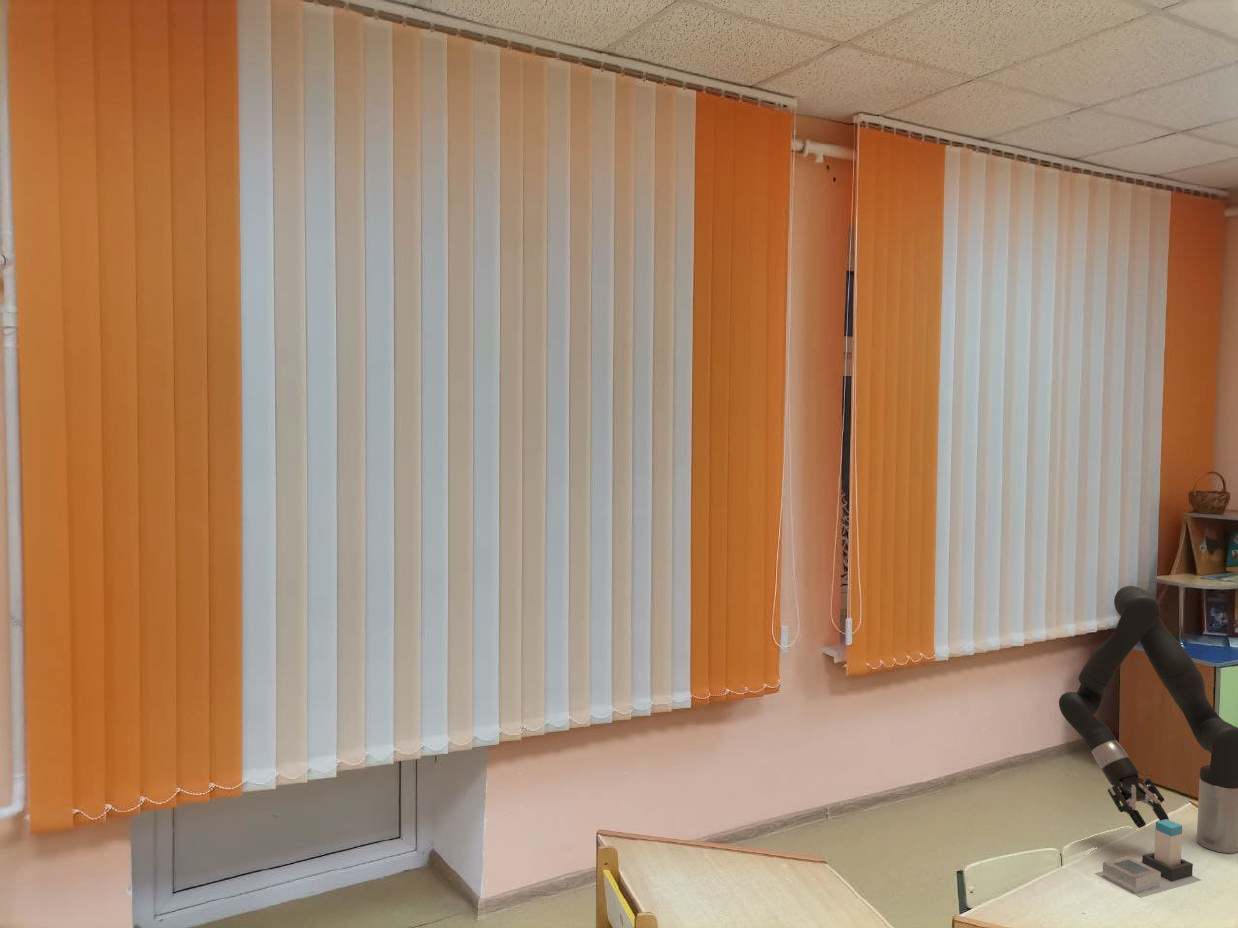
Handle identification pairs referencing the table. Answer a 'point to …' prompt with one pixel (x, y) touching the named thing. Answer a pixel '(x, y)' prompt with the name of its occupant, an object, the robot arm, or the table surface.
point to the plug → (1168, 842)
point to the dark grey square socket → (1169, 868)
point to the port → (1131, 874)
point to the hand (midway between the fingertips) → (1154, 823)
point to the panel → (1164, 884)
